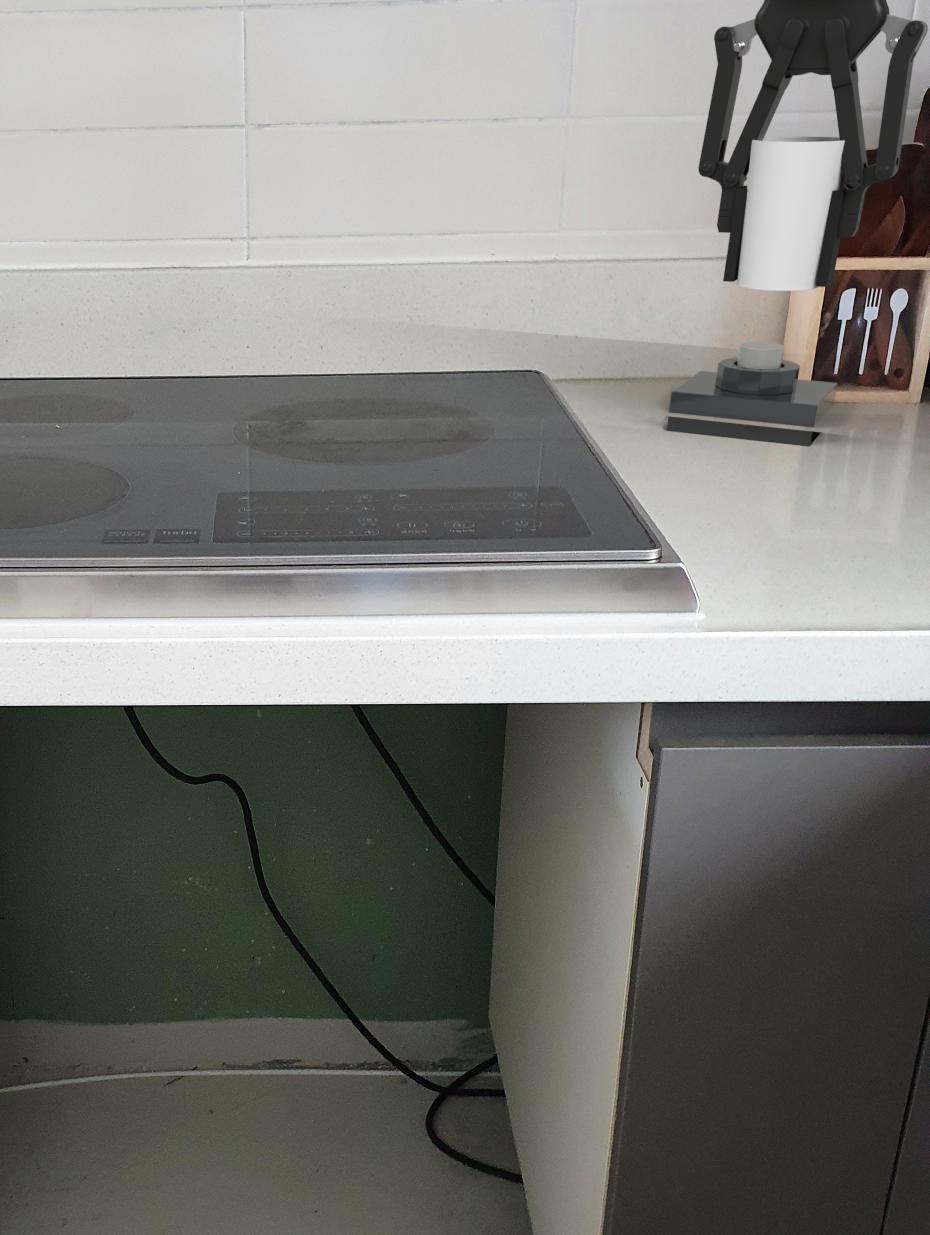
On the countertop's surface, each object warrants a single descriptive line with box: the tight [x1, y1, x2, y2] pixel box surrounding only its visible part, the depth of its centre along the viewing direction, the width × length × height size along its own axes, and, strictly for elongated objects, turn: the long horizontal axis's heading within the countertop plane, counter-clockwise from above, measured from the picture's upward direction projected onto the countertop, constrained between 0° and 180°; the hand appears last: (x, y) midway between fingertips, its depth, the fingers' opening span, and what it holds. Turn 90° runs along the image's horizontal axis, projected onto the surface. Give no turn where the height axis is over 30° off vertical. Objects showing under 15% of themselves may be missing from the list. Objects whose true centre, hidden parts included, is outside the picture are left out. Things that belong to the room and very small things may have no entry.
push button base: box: [665, 356, 839, 447], centre depth 119 cm, size 12×10×6 cm
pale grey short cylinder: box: [737, 341, 785, 369], centre depth 117 cm, size 4×4×2 cm
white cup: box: [736, 136, 845, 292], centre depth 98 cm, size 7×7×10 cm
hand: (777, 281), depth 100 cm, fingers closed on white cup, 6 cm apart
